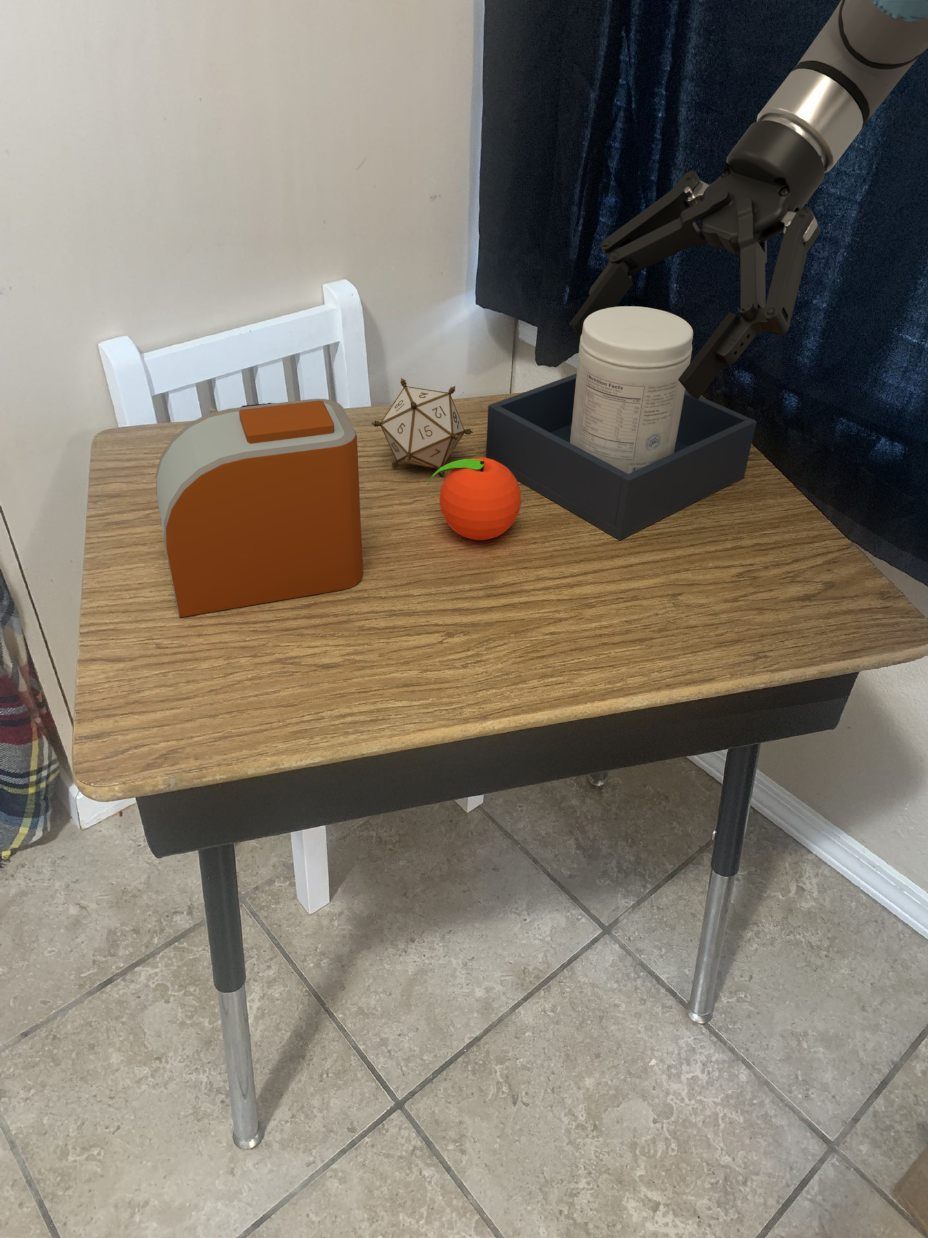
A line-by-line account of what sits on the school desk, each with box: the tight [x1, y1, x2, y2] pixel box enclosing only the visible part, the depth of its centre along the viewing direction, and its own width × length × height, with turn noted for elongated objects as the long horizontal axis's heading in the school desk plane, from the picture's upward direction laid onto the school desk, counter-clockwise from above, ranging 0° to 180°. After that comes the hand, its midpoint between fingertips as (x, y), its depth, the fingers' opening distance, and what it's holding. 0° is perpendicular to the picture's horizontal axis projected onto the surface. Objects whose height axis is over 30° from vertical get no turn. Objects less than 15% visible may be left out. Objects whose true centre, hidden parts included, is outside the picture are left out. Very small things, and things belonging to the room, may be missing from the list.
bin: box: [485, 372, 758, 541], centre depth 93 cm, size 18×18×6 cm
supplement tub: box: [570, 305, 694, 474], centre depth 87 cm, size 10×10×15 cm
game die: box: [370, 377, 474, 478], centre depth 92 cm, size 9×8×10 cm
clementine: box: [427, 457, 522, 541], centre depth 83 cm, size 8×7×7 cm
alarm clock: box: [155, 398, 364, 618], centre depth 75 cm, size 15×8×14 cm, turn 108°
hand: (630, 360), depth 83 cm, fingers open, 13 cm apart
